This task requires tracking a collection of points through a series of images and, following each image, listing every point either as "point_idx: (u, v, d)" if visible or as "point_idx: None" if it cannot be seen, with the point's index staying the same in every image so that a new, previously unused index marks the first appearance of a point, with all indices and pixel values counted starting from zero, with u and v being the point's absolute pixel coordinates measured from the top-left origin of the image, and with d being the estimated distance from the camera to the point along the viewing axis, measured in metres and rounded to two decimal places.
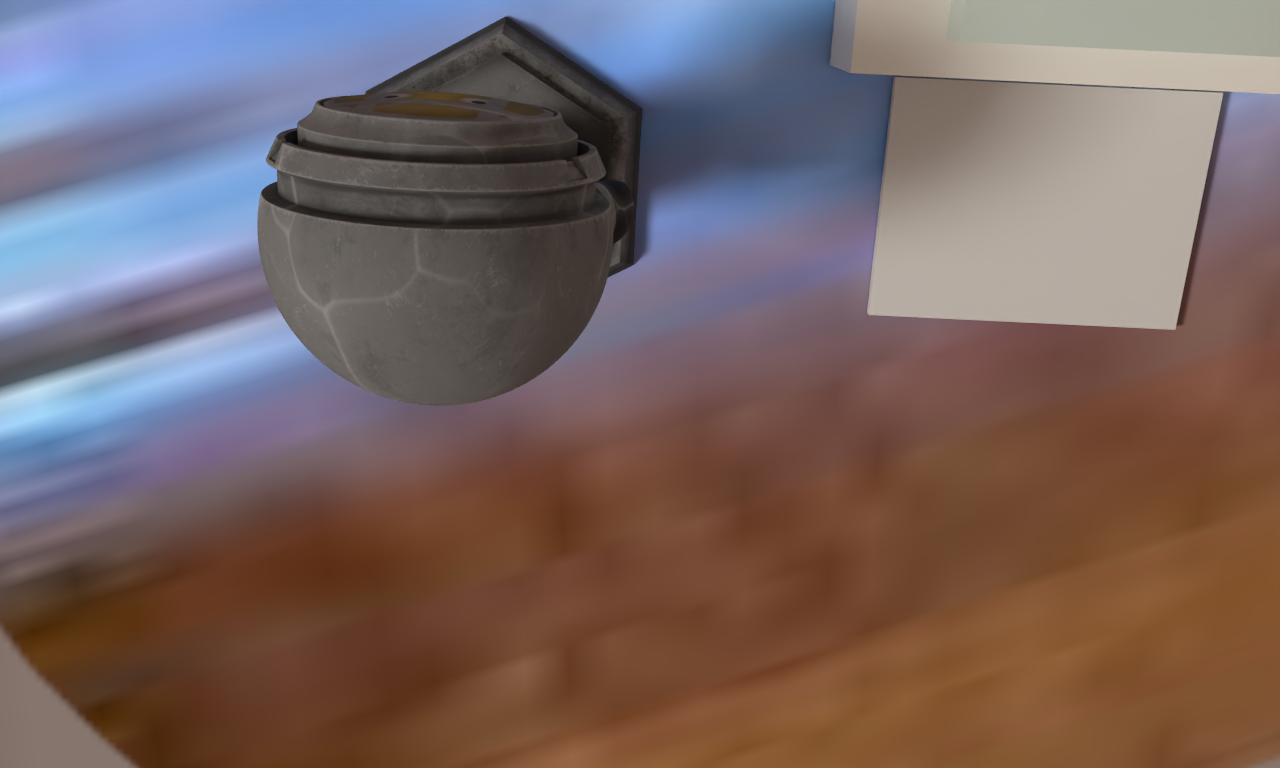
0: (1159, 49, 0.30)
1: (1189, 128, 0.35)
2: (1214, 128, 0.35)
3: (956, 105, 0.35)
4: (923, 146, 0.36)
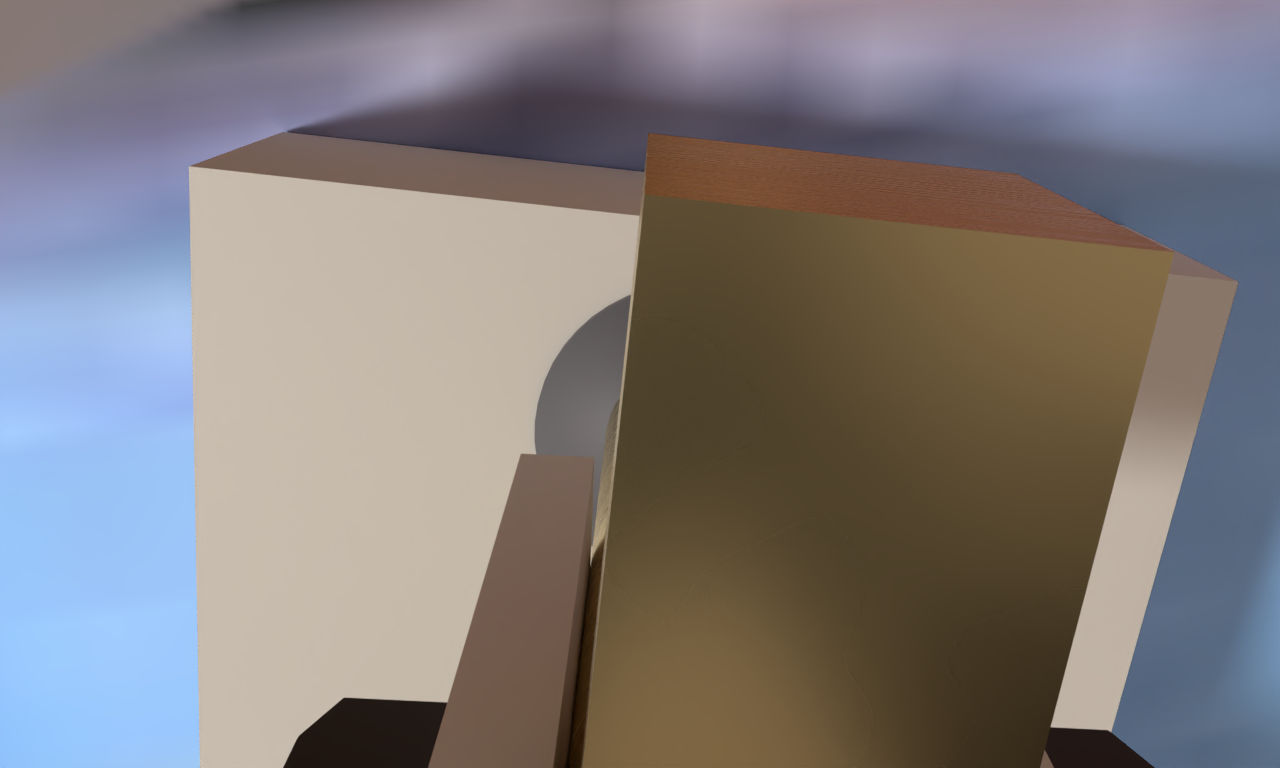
0: None
1: None
2: None
3: None
4: None
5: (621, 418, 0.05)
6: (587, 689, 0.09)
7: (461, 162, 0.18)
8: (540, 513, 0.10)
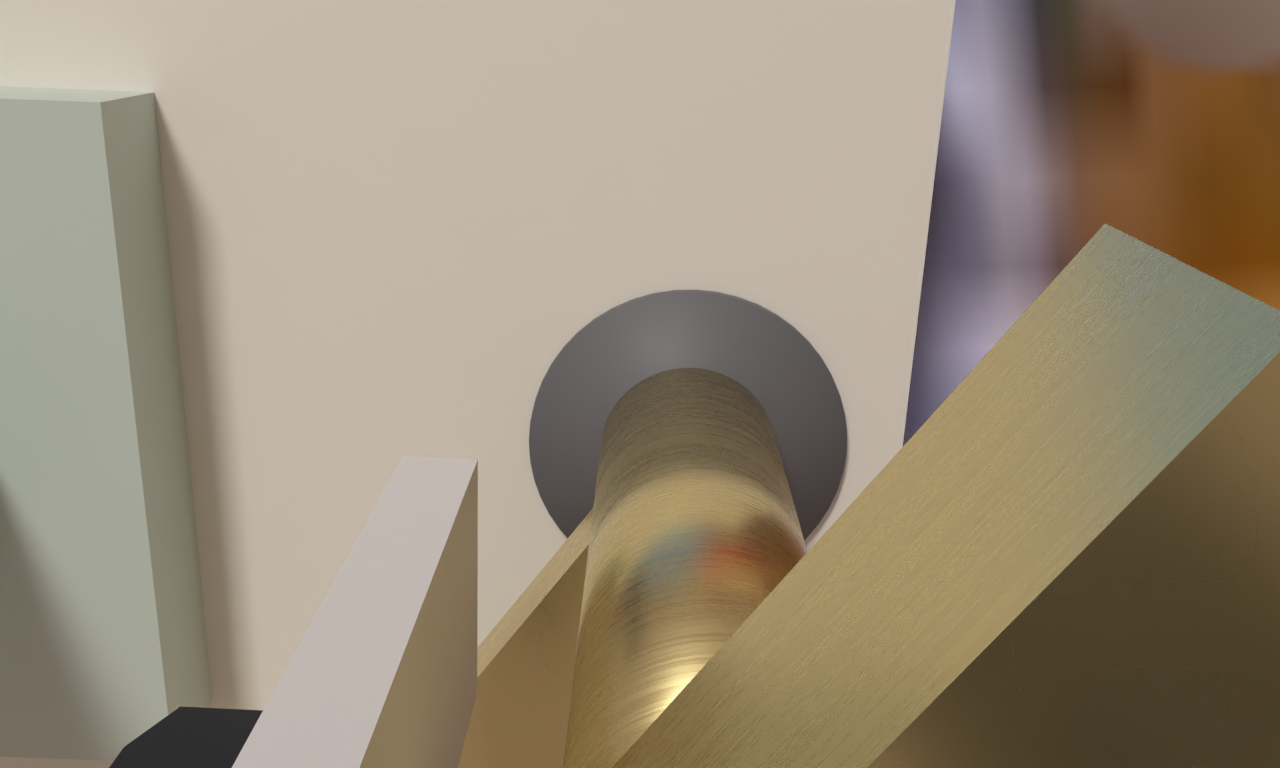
0: None
1: None
2: None
3: None
4: None
5: (1135, 500, 0.05)
6: (639, 657, 0.09)
7: None
8: (407, 516, 0.10)
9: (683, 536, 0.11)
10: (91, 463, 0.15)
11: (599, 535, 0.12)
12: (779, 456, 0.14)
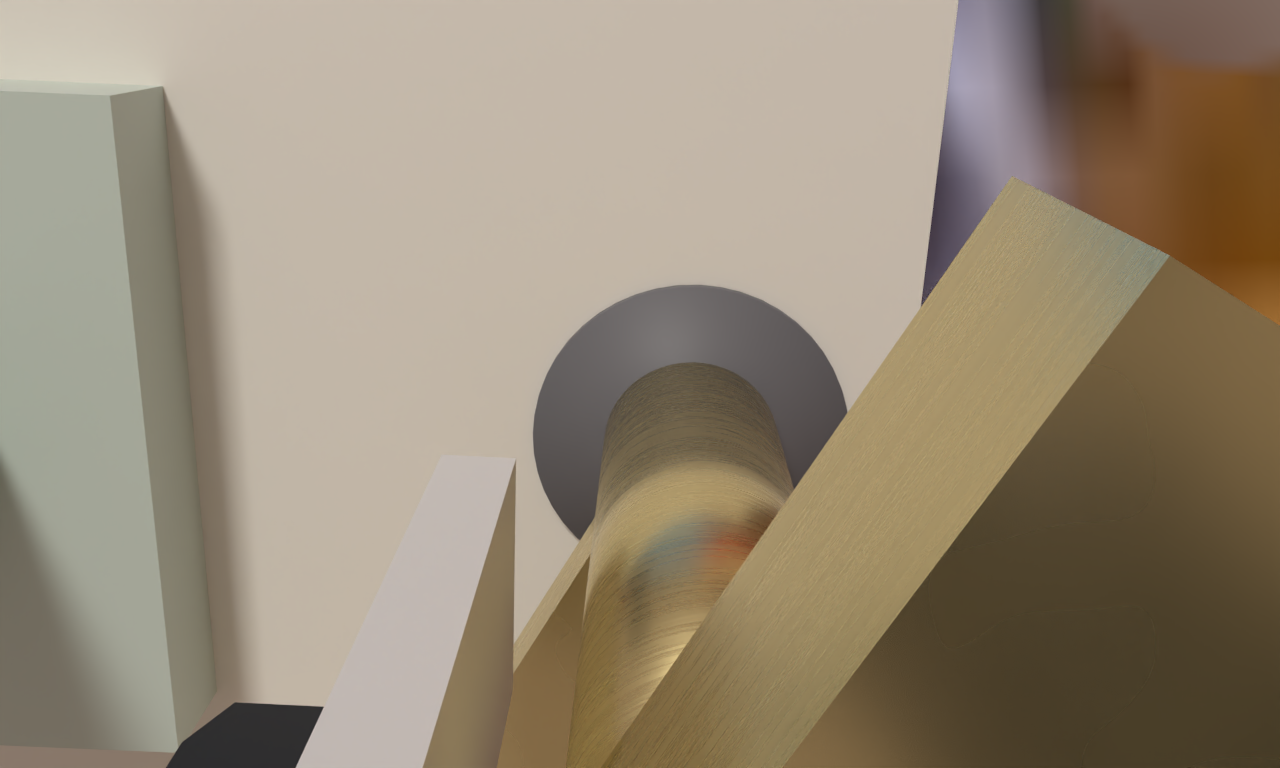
0: None
1: None
2: None
3: None
4: None
5: (1027, 447, 0.05)
6: (627, 653, 0.09)
7: None
8: (450, 514, 0.10)
9: (672, 529, 0.11)
10: (98, 454, 0.15)
11: (597, 537, 0.12)
12: (776, 440, 0.14)
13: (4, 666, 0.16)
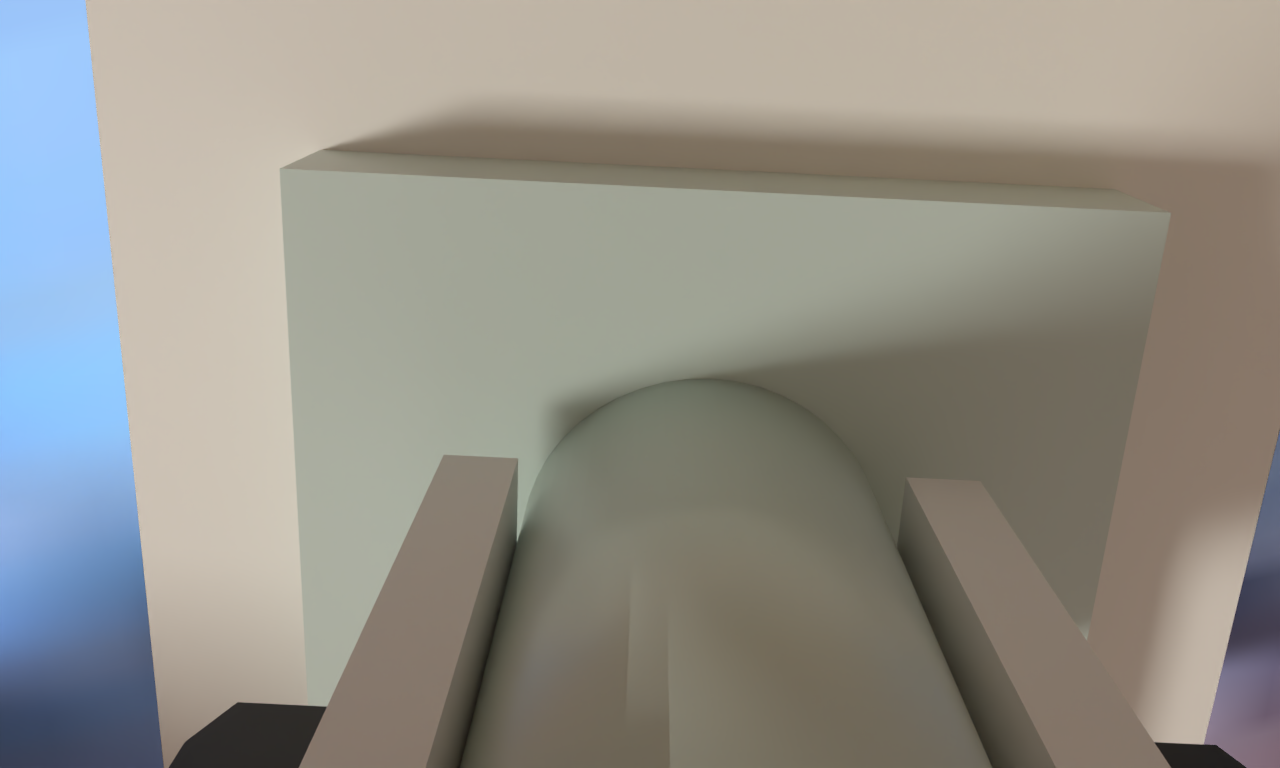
0: None
1: None
2: None
3: None
4: None
5: None
6: None
7: None
8: (453, 514, 0.10)
9: None
10: (721, 251, 0.12)
11: None
12: None
13: (1009, 416, 0.12)
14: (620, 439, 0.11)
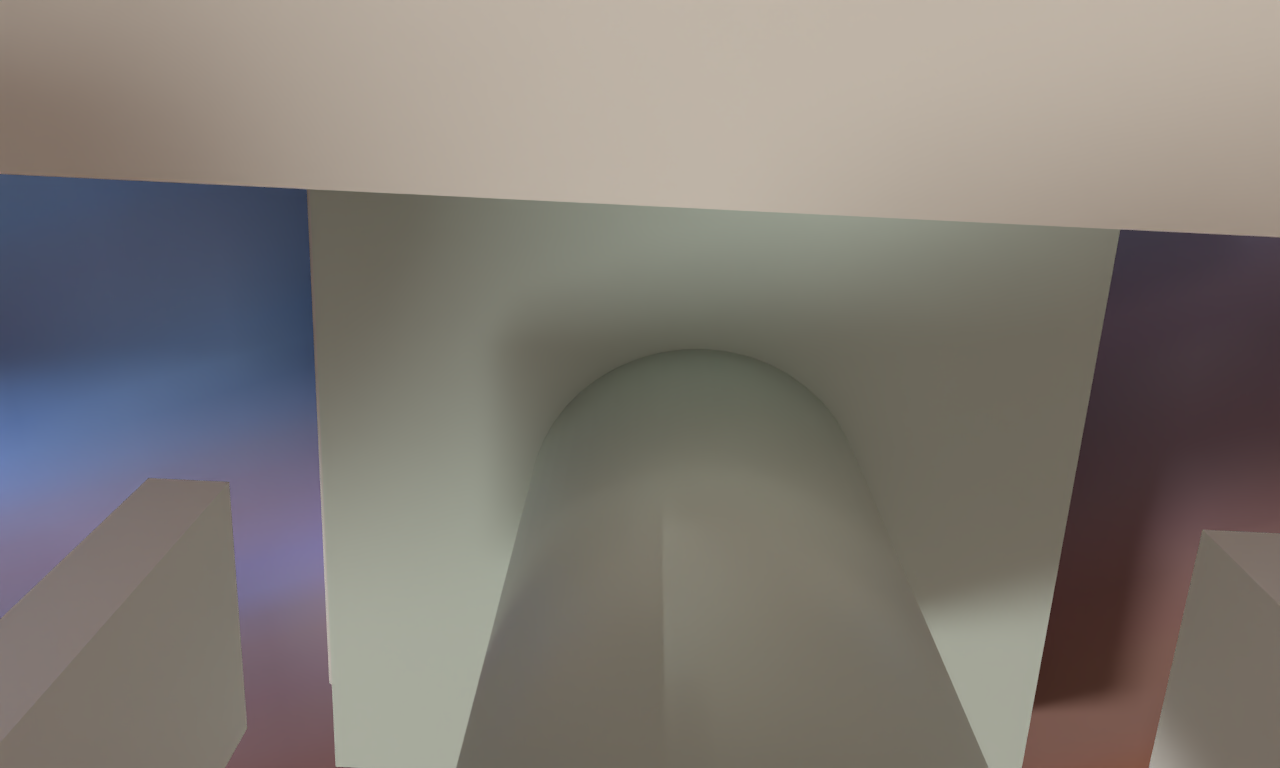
0: None
1: None
2: None
3: None
4: None
5: None
6: None
7: None
8: (118, 547, 0.09)
9: None
10: (713, 230, 0.13)
11: None
12: None
13: (980, 384, 0.13)
14: (620, 402, 0.12)
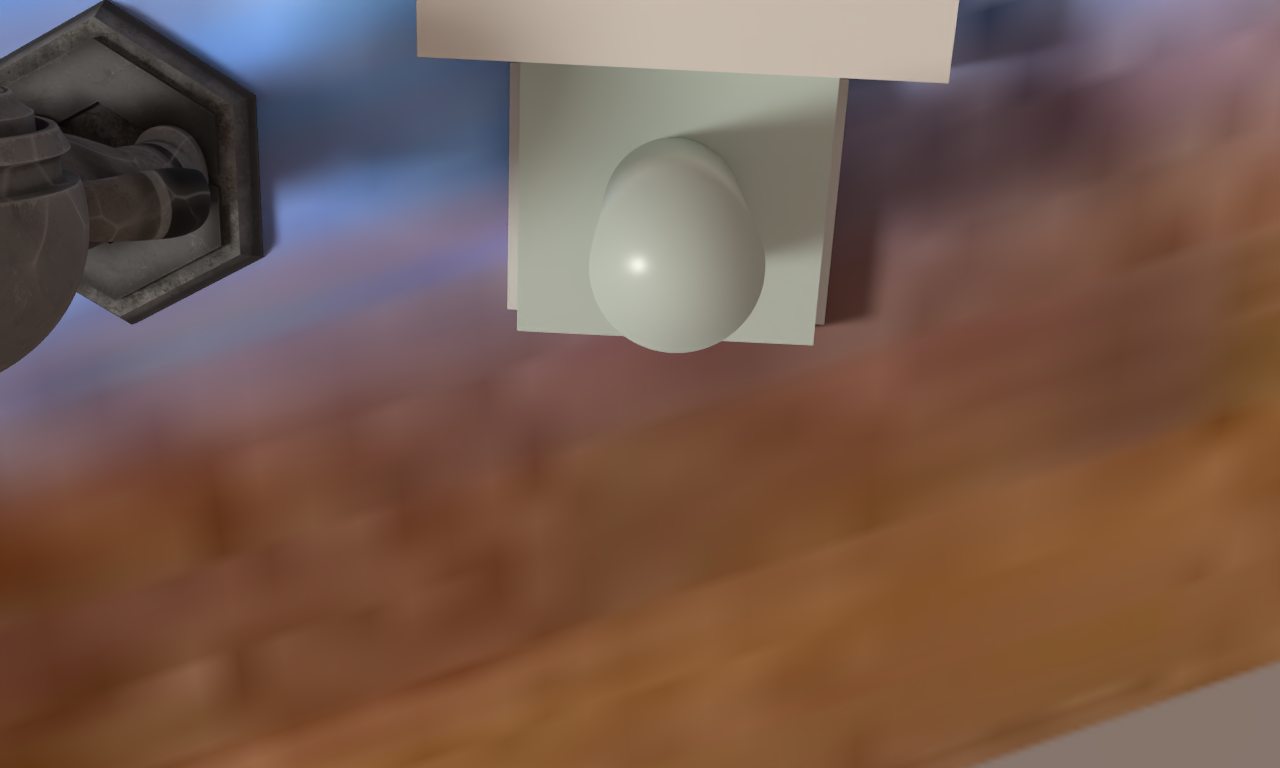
0: None
1: None
2: (843, 116, 0.34)
3: None
4: None
5: None
6: None
7: None
8: None
9: None
10: (679, 88, 0.33)
11: None
12: None
13: (787, 152, 0.33)
14: (642, 149, 0.32)
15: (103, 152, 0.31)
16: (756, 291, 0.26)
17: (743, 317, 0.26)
